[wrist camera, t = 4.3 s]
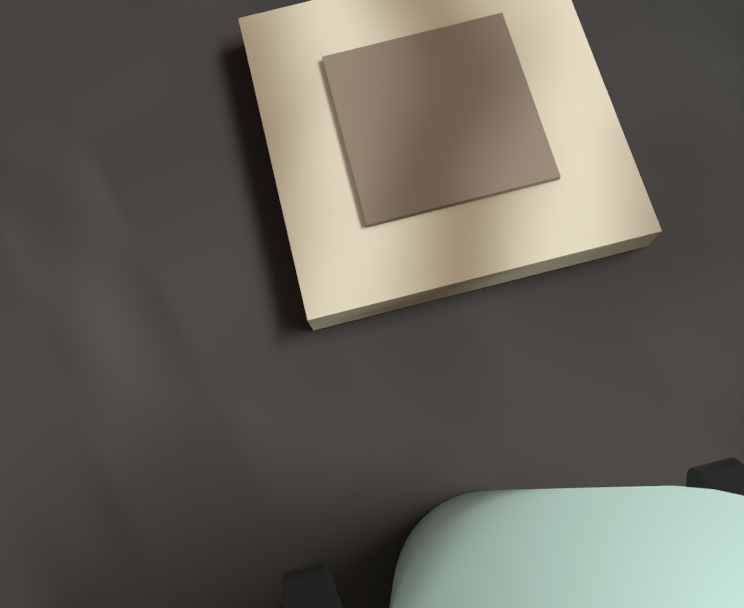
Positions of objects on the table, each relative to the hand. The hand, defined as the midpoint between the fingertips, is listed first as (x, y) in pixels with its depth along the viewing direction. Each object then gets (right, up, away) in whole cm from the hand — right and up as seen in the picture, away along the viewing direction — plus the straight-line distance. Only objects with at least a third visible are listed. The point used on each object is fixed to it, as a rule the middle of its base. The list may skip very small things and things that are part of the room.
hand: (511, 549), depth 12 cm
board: (0, +9, +9) cm, 13 cm away
